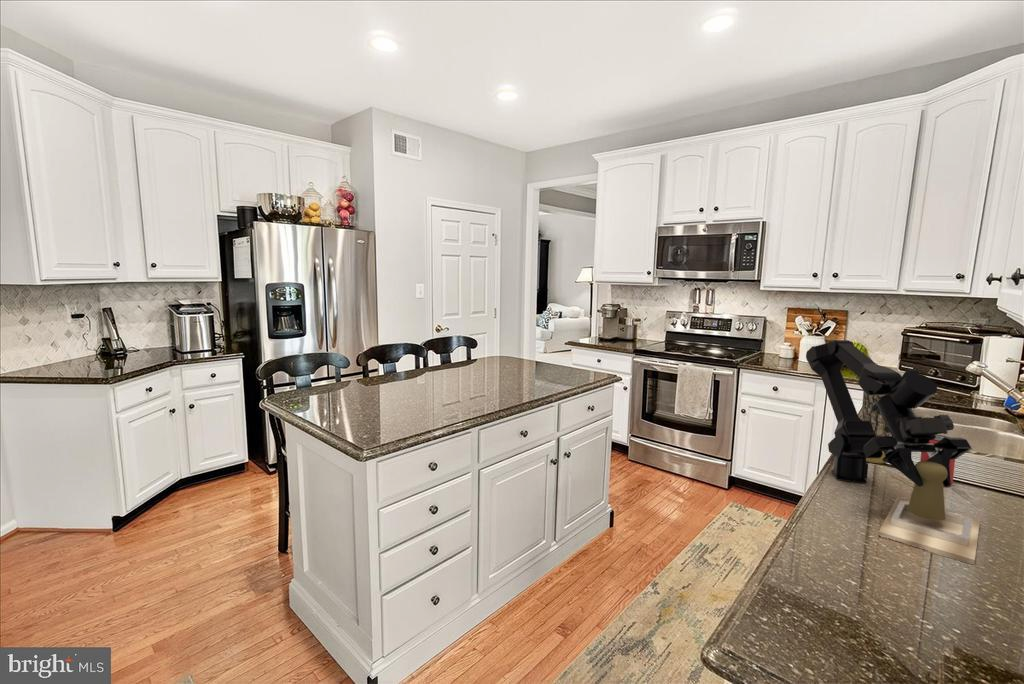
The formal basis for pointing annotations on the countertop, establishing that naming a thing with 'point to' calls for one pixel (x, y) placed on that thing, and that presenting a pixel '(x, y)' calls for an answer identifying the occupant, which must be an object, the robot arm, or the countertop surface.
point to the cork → (929, 492)
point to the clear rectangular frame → (934, 532)
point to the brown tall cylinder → (873, 420)
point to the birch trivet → (933, 543)
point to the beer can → (925, 457)
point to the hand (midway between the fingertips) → (934, 486)
